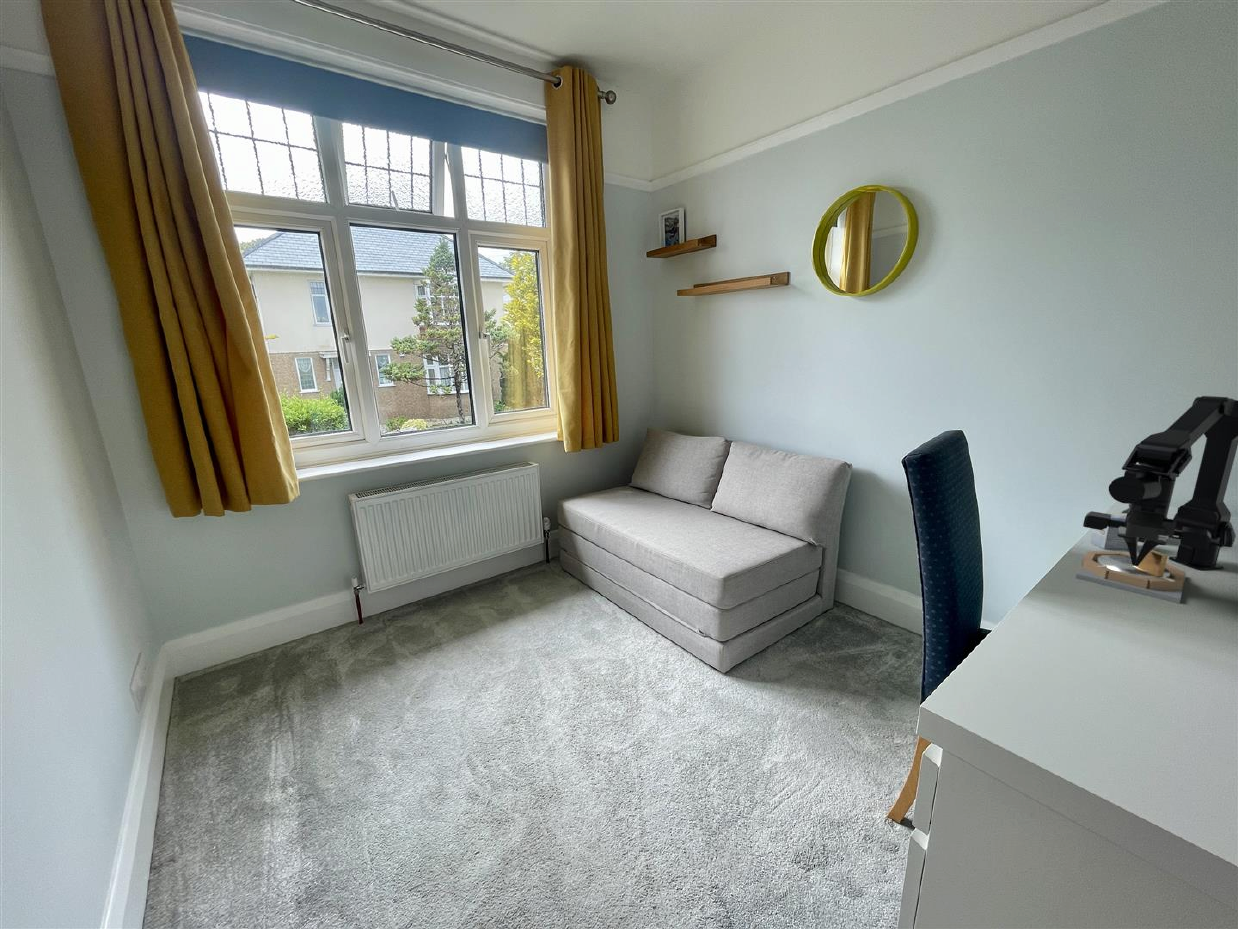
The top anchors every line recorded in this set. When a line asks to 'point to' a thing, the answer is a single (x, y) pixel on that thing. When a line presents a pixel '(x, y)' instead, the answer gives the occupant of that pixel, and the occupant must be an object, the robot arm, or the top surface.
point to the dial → (1147, 568)
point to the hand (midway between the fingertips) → (1135, 565)
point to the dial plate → (1132, 578)
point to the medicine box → (1110, 535)
